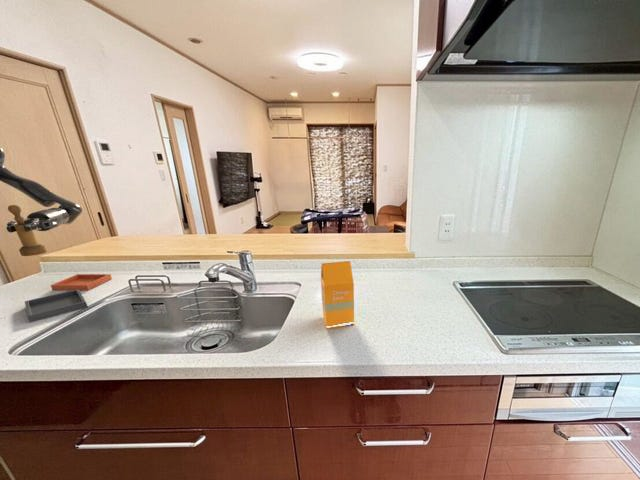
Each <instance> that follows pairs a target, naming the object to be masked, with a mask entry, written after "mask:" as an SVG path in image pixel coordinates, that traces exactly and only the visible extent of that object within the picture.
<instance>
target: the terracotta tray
mask: <svg viewBox="0 0 640 480" xmlns="http://www.w3.org/2000/svg"><path fill="white" fill-rule="evenodd" d="M112 279H113V278H112V274H110V273H76V274H73V275H72V276H69V277H66V278H64V279H63V280H62V279H61V280H60V281H57V282H54V283H52V284H50V285H49V286H50V288H51V290H52V291H72V290H76V289H79V291H90V290H92V289H95V288H96V287H98V286H100V285H102V284H104V283H106V282H108V281H111V280H112Z"/></svg>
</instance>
